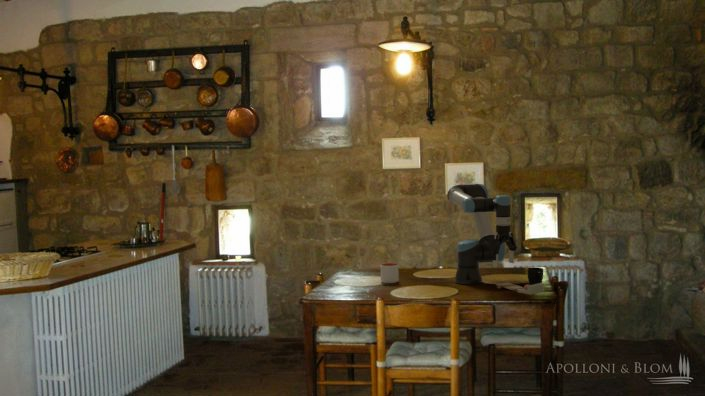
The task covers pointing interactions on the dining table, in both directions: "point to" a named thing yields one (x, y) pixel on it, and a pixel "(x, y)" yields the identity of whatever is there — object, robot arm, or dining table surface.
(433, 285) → the dining table surface
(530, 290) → the stop block
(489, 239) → the robot arm
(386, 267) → the cup
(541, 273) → the mug
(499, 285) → the ramp
